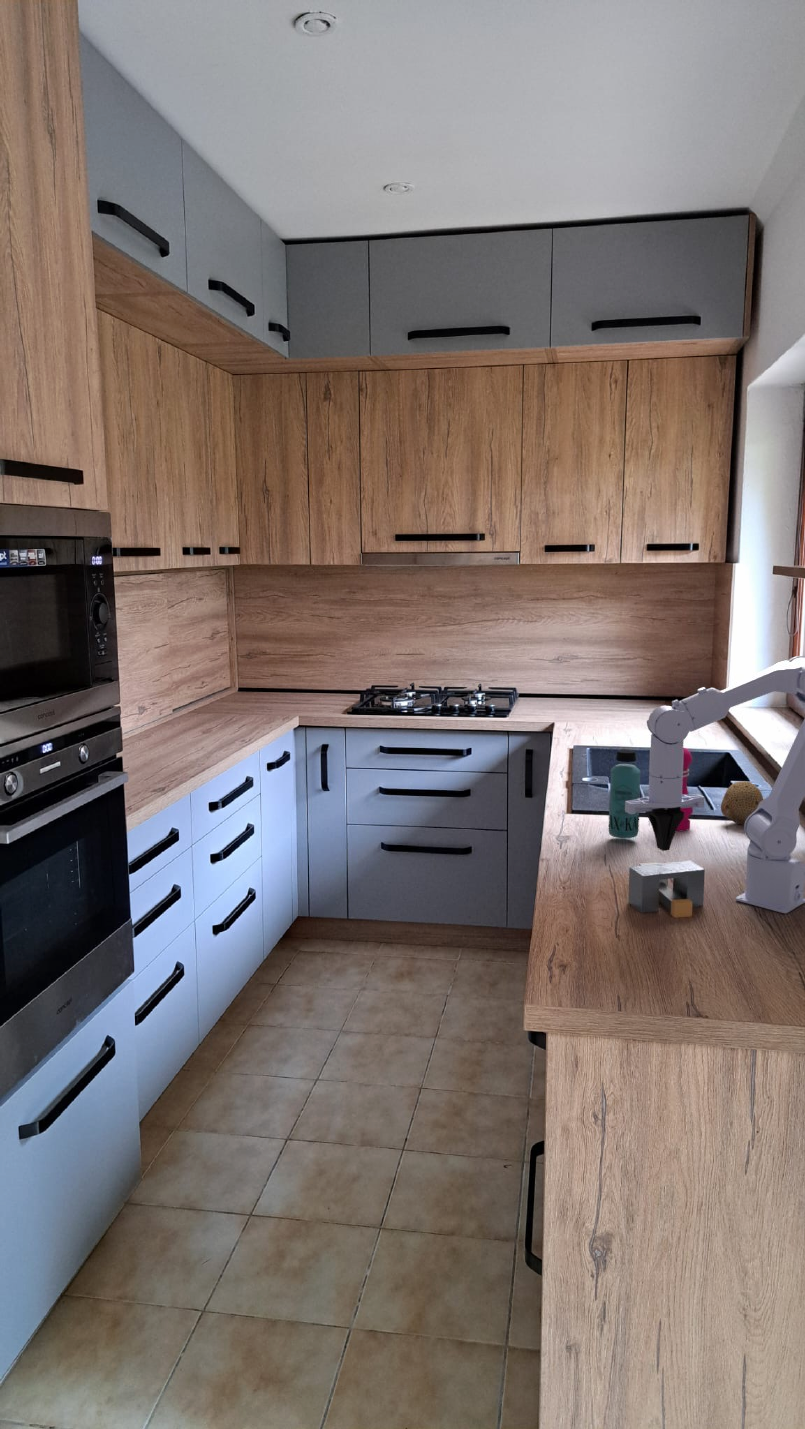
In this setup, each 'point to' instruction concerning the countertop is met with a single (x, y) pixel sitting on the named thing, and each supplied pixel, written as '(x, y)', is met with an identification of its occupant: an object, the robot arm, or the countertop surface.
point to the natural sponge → (740, 801)
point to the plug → (672, 899)
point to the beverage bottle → (624, 796)
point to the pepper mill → (685, 791)
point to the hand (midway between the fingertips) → (663, 848)
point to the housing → (648, 876)
